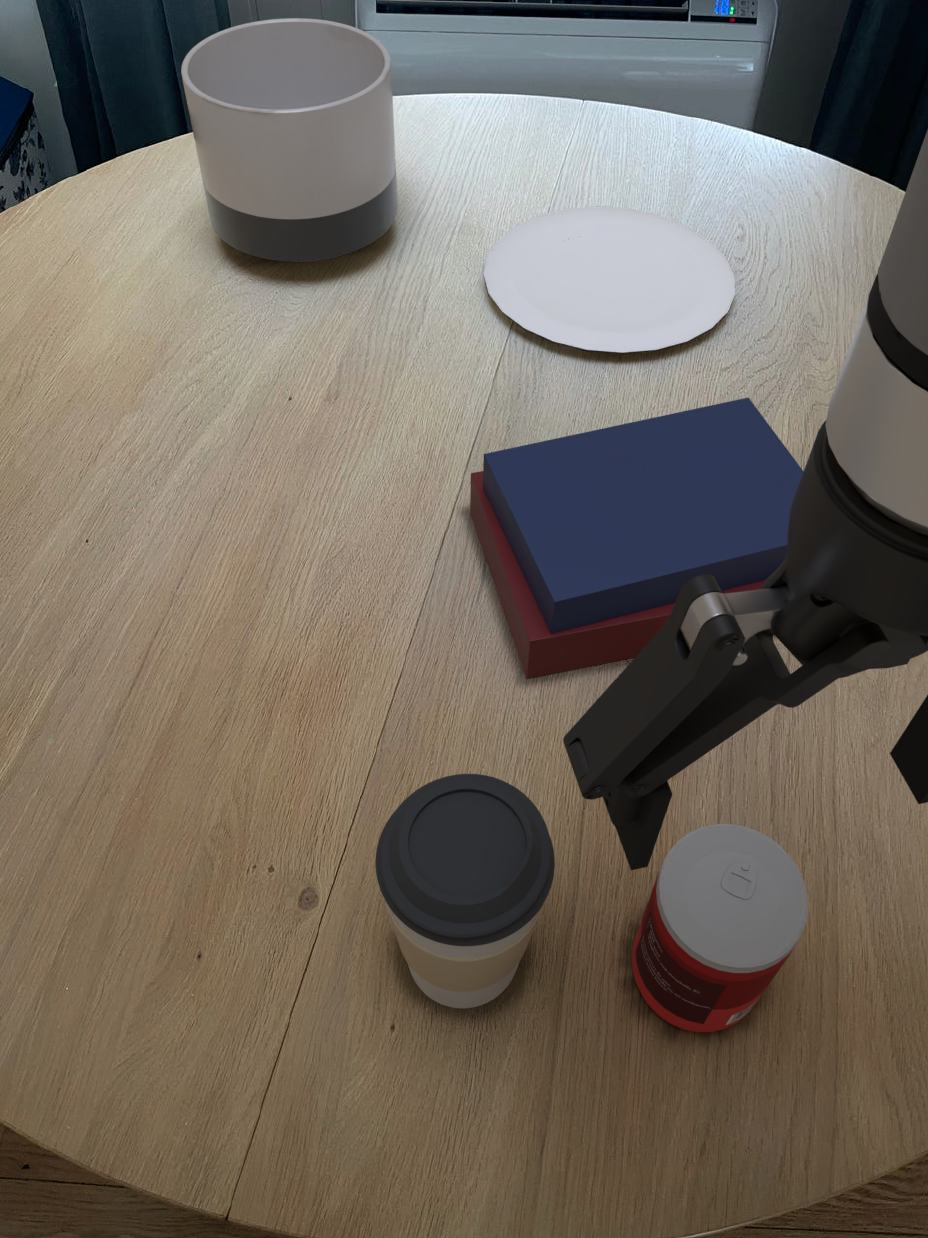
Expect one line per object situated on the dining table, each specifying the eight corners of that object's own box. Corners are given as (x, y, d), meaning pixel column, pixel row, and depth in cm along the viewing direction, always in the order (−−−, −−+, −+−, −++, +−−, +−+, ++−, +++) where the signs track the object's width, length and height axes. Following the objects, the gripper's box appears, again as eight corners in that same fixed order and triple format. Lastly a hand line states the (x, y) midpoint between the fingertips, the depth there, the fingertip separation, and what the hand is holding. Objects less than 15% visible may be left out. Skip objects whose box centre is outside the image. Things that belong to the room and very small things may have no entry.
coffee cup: (360, 985, 61) (338, 876, 49) (429, 856, 66) (424, 730, 54) (501, 1055, 58) (513, 958, 47) (561, 916, 64) (586, 797, 52)
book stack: (833, 618, 78) (866, 547, 72) (526, 679, 75) (533, 609, 68) (743, 466, 88) (765, 392, 82) (469, 512, 85) (471, 438, 79)
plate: (785, 313, 102) (789, 299, 101) (574, 397, 94) (576, 382, 93) (633, 196, 115) (635, 181, 114) (437, 260, 107) (437, 245, 106)
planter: (185, 219, 112) (147, 45, 98) (343, 170, 118) (329, 1, 104) (265, 310, 102) (235, 131, 88) (433, 251, 108) (430, 76, 94)
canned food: (763, 920, 64) (811, 838, 55) (755, 1052, 59) (808, 985, 50) (638, 892, 65) (667, 808, 56) (621, 1020, 60) (649, 949, 51)
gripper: (1238, 319, 34) (979, 686, 51) (496, 438, 30) (482, 793, 47) (1419, 477, 29) (1069, 823, 46) (574, 641, 26) (527, 952, 42)
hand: (773, 808), depth 46 cm, fingers open, 13 cm apart
